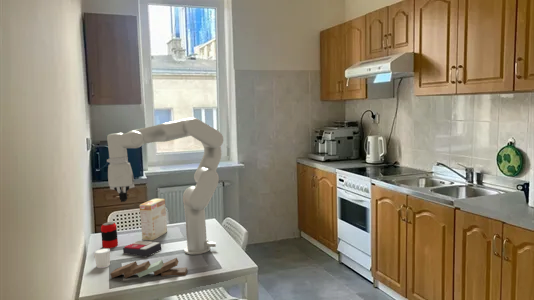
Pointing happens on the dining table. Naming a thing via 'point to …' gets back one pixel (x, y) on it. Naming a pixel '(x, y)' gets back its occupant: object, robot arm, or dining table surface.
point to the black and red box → (142, 248)
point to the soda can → (109, 235)
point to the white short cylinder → (102, 257)
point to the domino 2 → (138, 269)
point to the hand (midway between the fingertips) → (123, 201)
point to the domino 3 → (151, 268)
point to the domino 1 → (123, 269)
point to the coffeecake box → (153, 219)
